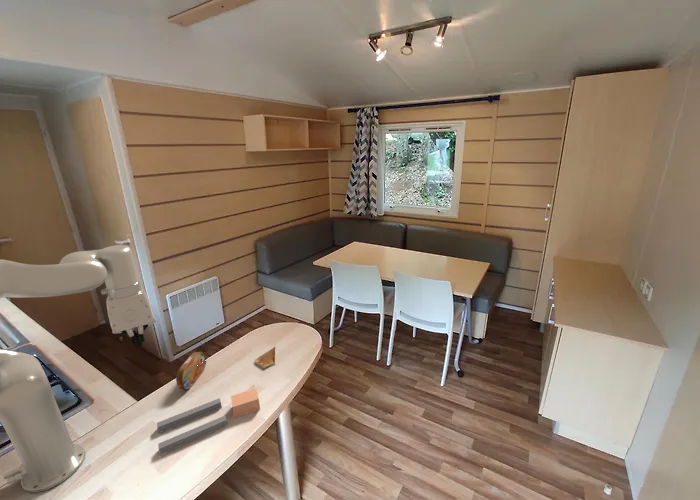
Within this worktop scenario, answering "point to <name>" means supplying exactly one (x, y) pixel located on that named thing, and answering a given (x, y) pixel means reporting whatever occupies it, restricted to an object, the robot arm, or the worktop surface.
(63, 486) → the worktop surface
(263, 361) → the shard
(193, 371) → the tin
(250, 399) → the block
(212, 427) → the chute
